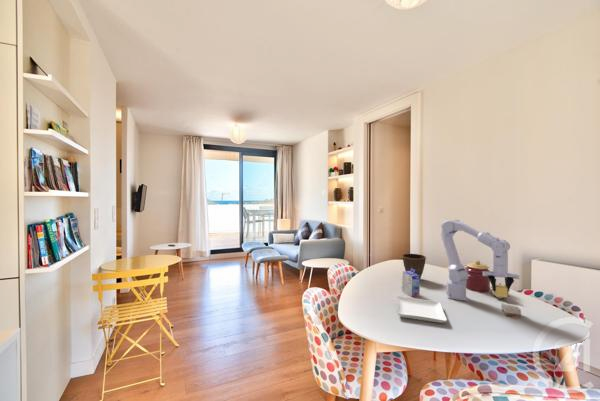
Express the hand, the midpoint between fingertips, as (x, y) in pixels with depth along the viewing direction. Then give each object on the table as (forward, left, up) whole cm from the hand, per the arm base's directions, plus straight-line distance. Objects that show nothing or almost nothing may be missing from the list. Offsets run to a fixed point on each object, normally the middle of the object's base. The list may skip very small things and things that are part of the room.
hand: (500, 291), depth 129 cm
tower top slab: (+4, -2, -8) cm, 9 cm away
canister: (-3, +32, -10) cm, 34 cm away
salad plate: (-37, -17, -11) cm, 42 cm away
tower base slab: (+4, -2, -11) cm, 11 cm away
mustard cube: (0, 0, -2) cm, 2 cm away
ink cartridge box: (-41, +8, -10) cm, 43 cm away
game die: (+5, +19, -10) cm, 22 cm away
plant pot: (-39, +37, -10) cm, 55 cm away
